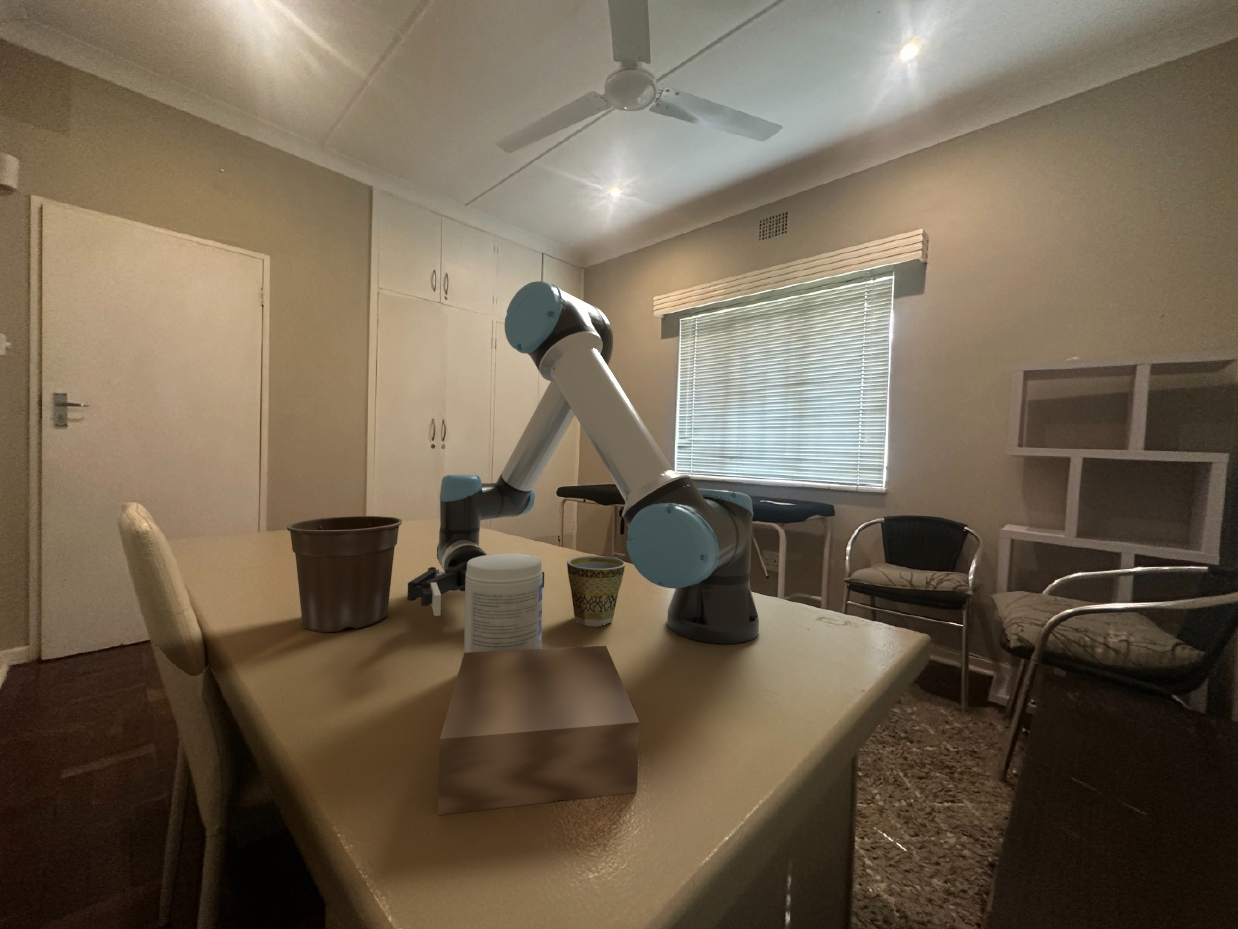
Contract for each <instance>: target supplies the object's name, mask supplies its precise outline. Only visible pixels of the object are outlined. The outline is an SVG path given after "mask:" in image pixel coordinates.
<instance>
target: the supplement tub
mask: <svg viewBox="0 0 1238 929" xmlns="http://www.w3.org/2000/svg"><path fill="white" fill-rule="evenodd" d="M542 565H543V562H542V559H541V558H539V557H538V556H535V555H532V554H531V555H530V554H524V553H493V554H487V555H485V556H480V557H476V558H473V559H471V560H469V561H468V562H467V572H466V579H465V591H464V646H463V647H464V648H463V649H464V650H463V654H464V653H469V652H489V651H509V650H530V649H542V637H543V636H542V633H543V632H542V630H543V628H542V627H543V626H542V624H543V588H542V586H543V575H542V572H543V569H542V568H543V567H542Z"/></svg>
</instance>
